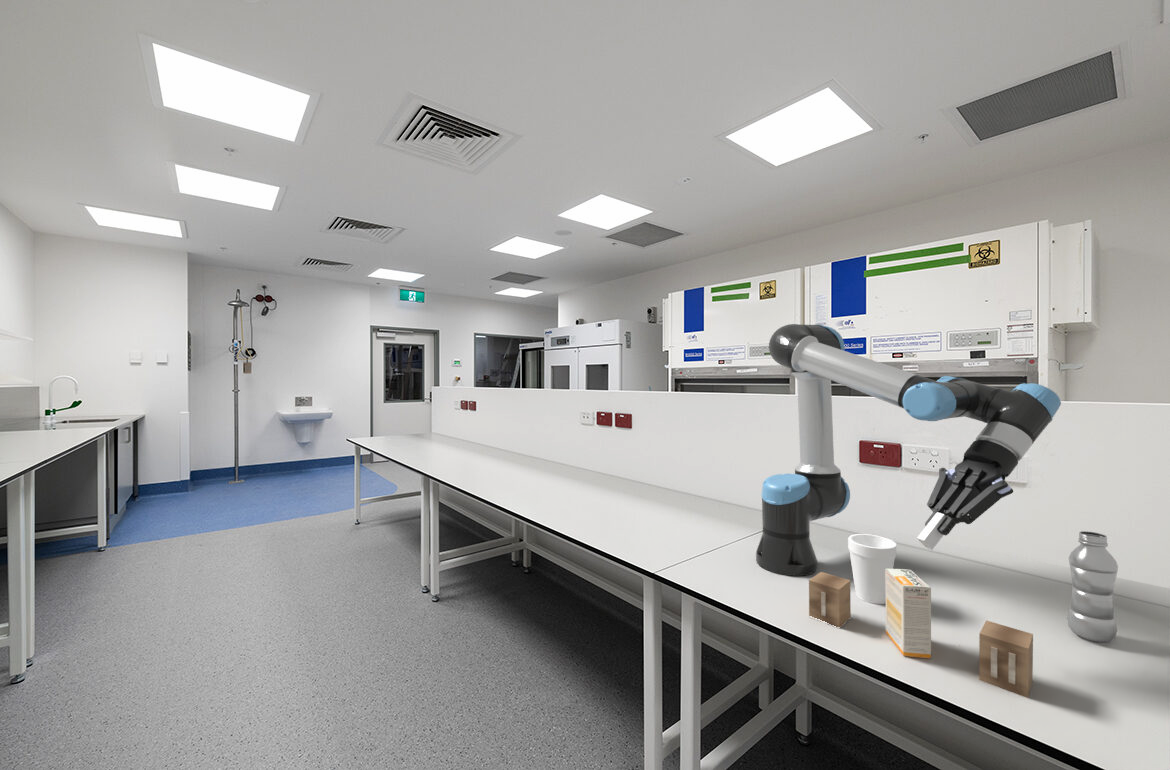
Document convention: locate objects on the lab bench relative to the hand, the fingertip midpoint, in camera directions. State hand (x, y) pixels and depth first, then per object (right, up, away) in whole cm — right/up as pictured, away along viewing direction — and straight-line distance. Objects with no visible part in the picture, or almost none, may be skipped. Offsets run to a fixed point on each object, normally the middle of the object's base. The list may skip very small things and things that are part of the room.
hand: (924, 543), depth 89 cm
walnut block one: (-12, -19, +11) cm, 25 cm away
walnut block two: (+6, -19, -10) cm, 23 cm away
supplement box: (-3, -20, 0) cm, 20 cm away
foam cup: (+2, -19, +19) cm, 27 cm away
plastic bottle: (+33, -19, +2) cm, 38 cm away
